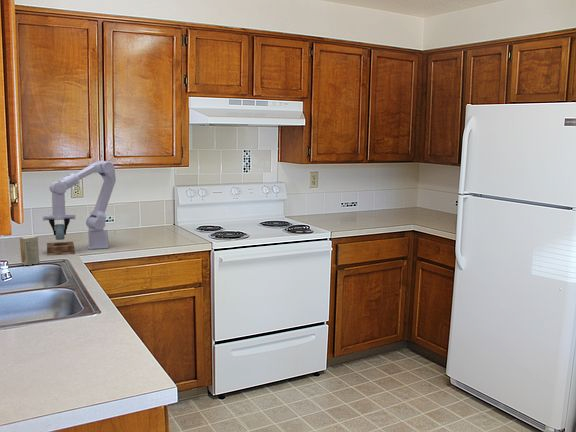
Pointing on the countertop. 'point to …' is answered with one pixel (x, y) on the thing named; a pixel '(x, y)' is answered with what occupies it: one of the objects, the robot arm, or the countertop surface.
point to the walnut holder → (60, 248)
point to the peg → (59, 231)
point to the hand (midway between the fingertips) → (59, 234)
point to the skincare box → (29, 250)
